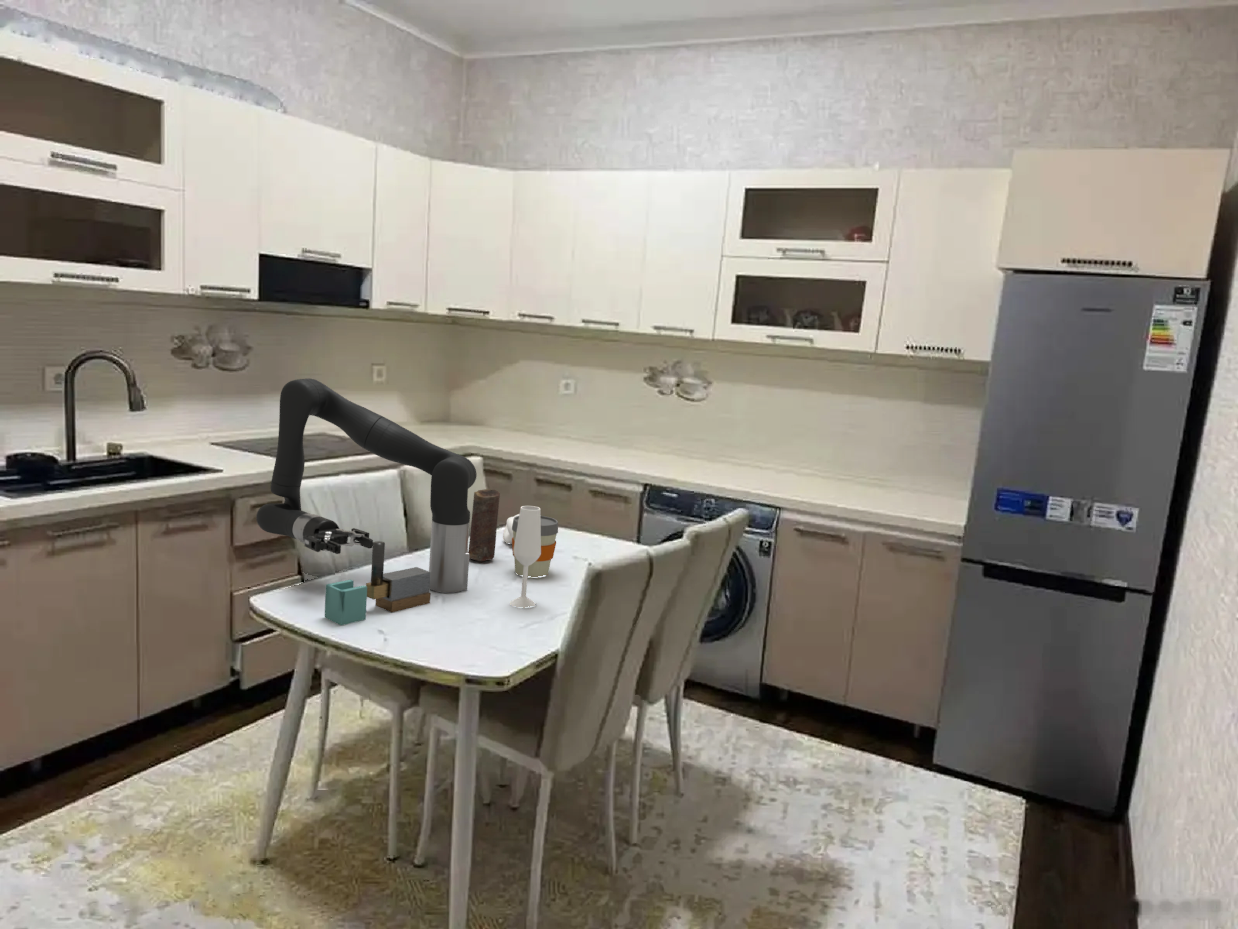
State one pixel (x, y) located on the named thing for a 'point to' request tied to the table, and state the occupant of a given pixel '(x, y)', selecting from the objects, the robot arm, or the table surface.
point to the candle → (484, 525)
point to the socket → (345, 602)
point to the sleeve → (406, 589)
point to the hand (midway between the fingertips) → (355, 546)
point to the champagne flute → (527, 547)
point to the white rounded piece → (509, 530)
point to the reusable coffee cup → (547, 547)
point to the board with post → (378, 573)
